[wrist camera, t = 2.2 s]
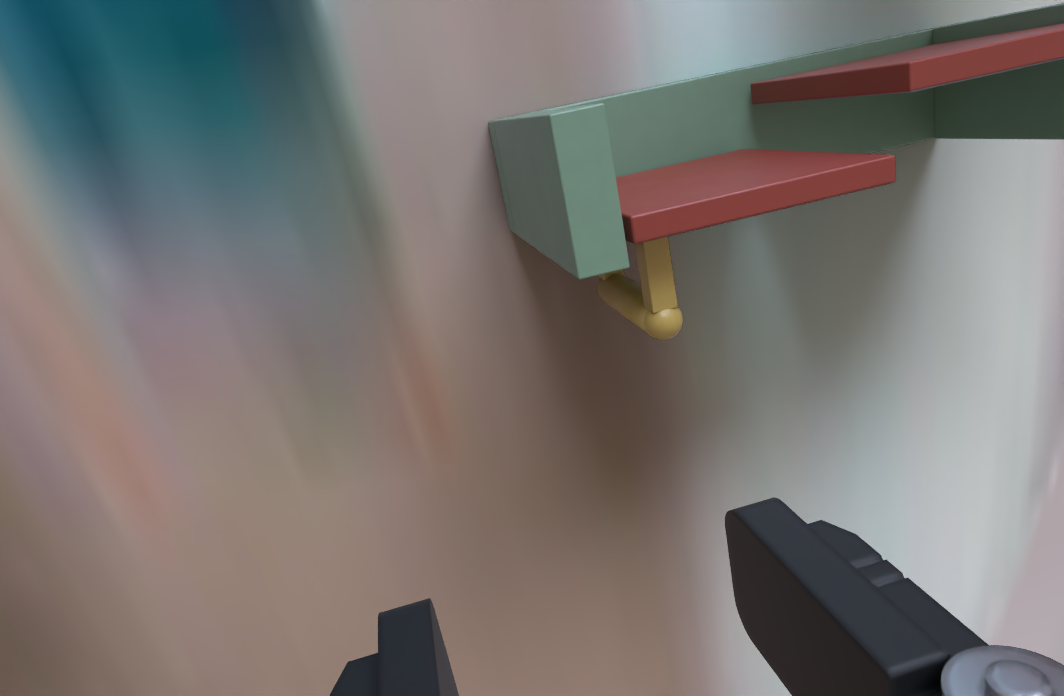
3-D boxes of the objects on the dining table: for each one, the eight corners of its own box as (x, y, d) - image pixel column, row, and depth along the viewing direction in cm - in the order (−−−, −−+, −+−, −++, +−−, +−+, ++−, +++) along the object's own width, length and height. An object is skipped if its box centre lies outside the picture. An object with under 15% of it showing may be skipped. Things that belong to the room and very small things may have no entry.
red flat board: (754, 250, 31) (902, 295, 22) (572, 295, 30) (651, 360, 21) (744, 148, 30) (896, 154, 21) (552, 191, 29) (630, 216, 20)
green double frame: (940, 131, 33) (1198, 130, 23) (509, 230, 30) (578, 281, 20) (938, 26, 32) (1211, -26, 21) (487, 121, 29) (548, 114, 19)
